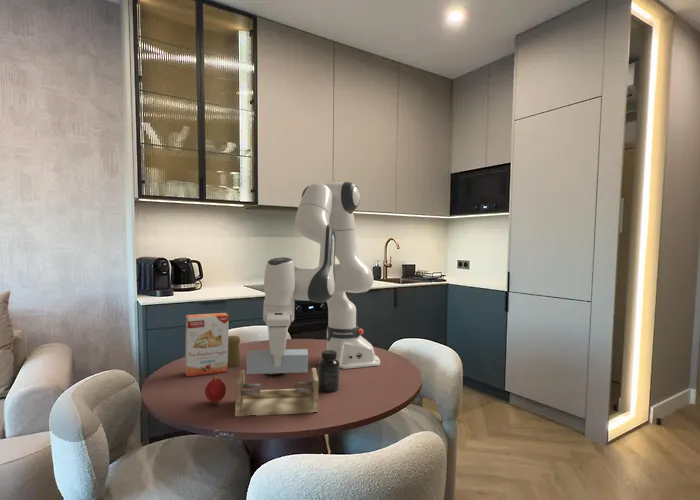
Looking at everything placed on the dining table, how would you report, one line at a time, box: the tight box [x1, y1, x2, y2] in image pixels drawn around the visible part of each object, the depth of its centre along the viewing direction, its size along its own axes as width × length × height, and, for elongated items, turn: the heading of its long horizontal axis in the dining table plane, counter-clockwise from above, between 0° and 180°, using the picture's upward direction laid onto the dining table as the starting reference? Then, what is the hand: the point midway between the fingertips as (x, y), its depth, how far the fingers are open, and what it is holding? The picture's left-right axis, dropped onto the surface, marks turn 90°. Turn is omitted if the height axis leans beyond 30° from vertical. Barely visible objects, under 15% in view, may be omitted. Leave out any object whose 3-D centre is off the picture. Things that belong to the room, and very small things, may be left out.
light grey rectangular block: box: [245, 348, 309, 375], centre depth 113 cm, size 17×6×5 cm, turn 99°
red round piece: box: [204, 376, 227, 405], centre depth 114 cm, size 6×6×8 cm
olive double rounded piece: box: [228, 335, 242, 368], centre depth 150 cm, size 6×6×11 cm
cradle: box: [234, 367, 319, 417], centre depth 113 cm, size 22×11×9 cm, turn 99°
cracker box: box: [184, 312, 230, 377], centre depth 141 cm, size 14×6×21 cm, turn 118°
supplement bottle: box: [317, 350, 340, 393], centre depth 128 cm, size 7×7×12 cm
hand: (278, 362), depth 113 cm, fingers closed on light grey rectangular block, 6 cm apart
